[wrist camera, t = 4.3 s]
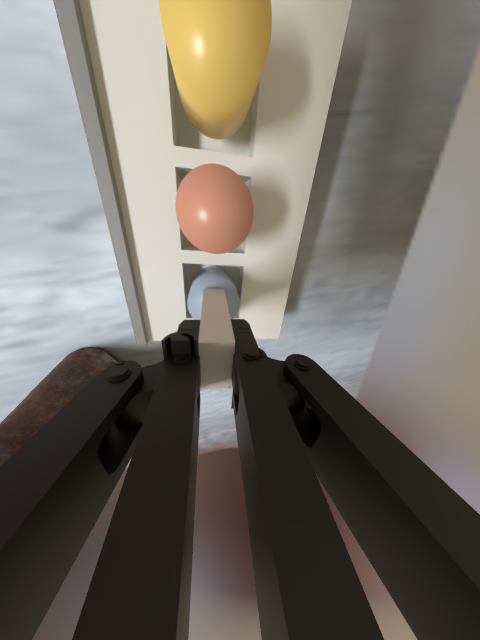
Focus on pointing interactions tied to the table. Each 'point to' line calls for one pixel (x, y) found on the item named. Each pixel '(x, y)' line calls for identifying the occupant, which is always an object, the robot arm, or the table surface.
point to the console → (200, 152)
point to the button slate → (212, 280)
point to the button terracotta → (214, 208)
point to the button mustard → (217, 58)
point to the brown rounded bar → (50, 397)
